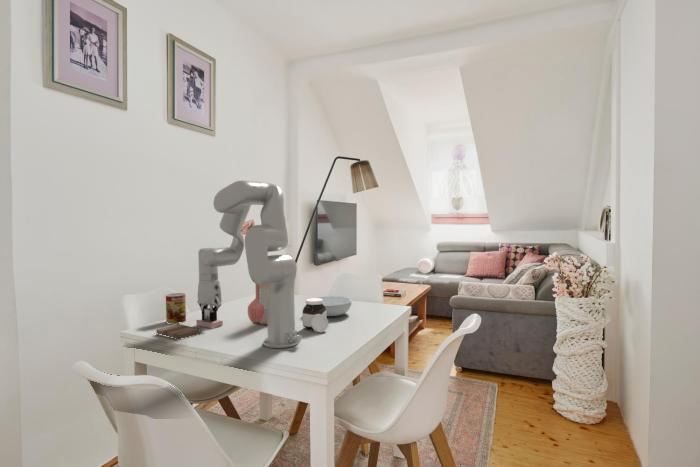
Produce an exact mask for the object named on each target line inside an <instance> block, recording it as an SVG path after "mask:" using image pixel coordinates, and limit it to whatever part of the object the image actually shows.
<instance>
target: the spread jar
mask: <svg viewBox="0 0 700 467" xmlns="http://www.w3.org/2000/svg"><path fill="white" fill-rule="evenodd" d="M301 317H302V318H301V320H302V326H303V328H305V329H306V330H308V331H314V332H316V333H323V332H326V330H328V327H329V320H328V317H327V311H326V307H325V306H324V305H323V299H320V298H315V297H312V298H307V299H306V300H305V305H304V307H303V309H302V313H301Z"/></svg>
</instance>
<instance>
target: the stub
mask: <svg viewBox="0 0 700 467" xmlns="http://www.w3.org/2000/svg"><path fill="white" fill-rule="evenodd" d="M210 312H211V311H210V307H208V308H205V309H204V320H202V318H200V319H196V326H199V327H204V328H209V329H213V328H218V327H222V326H223V324H224V323H223V320H222V319H217V320H216V321H213V322H210Z"/></svg>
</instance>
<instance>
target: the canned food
mask: <svg viewBox="0 0 700 467" xmlns="http://www.w3.org/2000/svg"><path fill="white" fill-rule="evenodd" d="M186 306H187V305H186V293H184V292H176V293H175V292H174V293H173V292H172V293H167V294H165V311H166V312H165V316H166V318H165V319H166V323H167V322H168V323H177V324H180V323H179V322H182V323H185V322H186V321H187V311H186V309H187V308H186ZM184 321H185V322H184ZM168 323H167V324H168Z"/></svg>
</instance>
